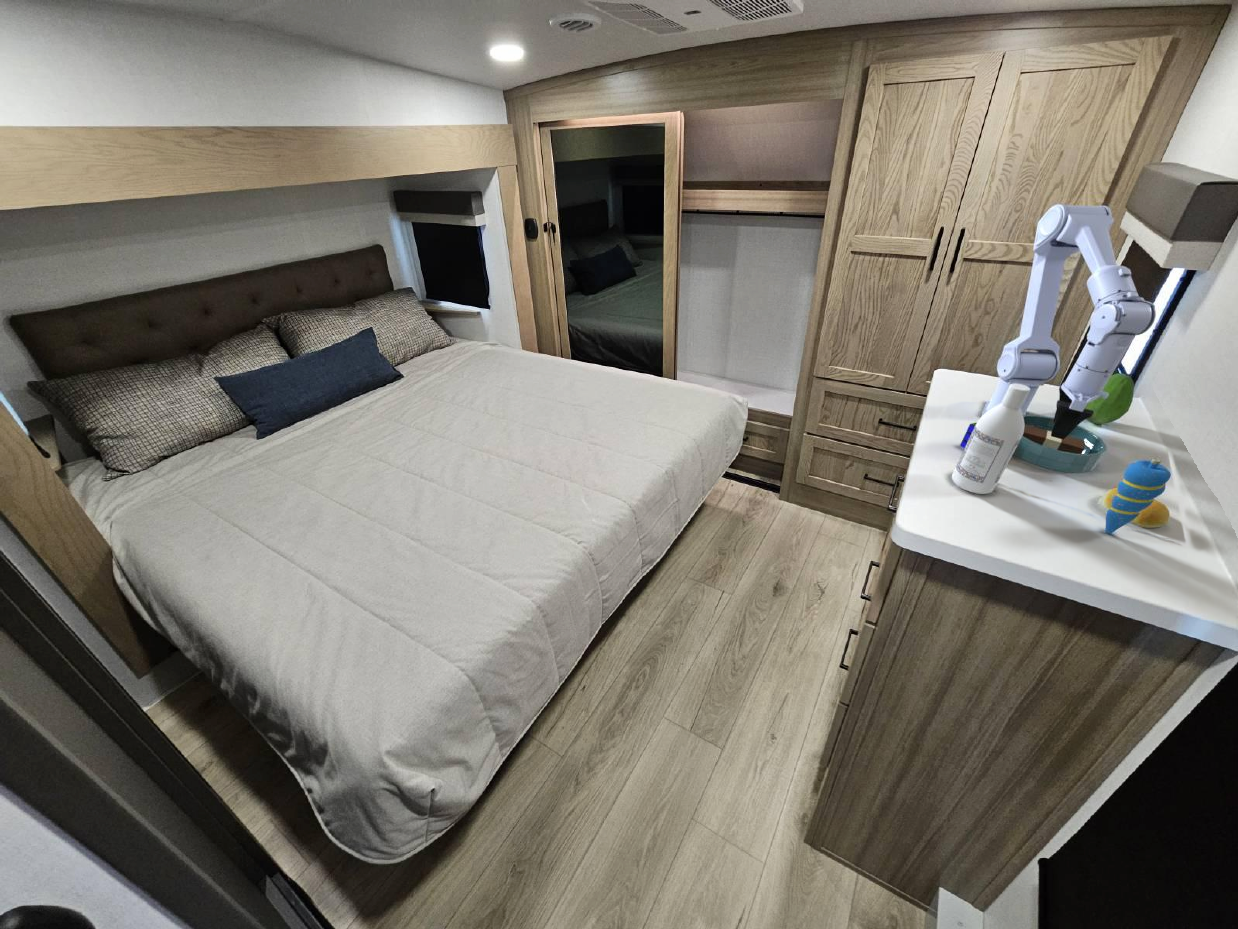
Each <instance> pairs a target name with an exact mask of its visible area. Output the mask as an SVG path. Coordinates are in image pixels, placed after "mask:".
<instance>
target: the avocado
mask: <svg viewBox="0 0 1238 929" xmlns="http://www.w3.org/2000/svg"><path fill="white" fill-rule="evenodd" d="M1102 391H1104V392H1108V393H1109V396H1108V397H1107V398H1106V399H1104V398H1097V399H1095V400H1093V401H1091V402H1089V403H1088V404H1087V405H1086V407H1085V409H1089V410H1093V411H1094V413H1093V415H1092V416H1091V417H1089V418H1087V419H1086V420H1085V421H1088V422H1089V423H1092V424H1097V425H1105V424H1111V423H1113V422H1115V421H1117V420H1119V419H1121V418H1122V417H1124V415H1126V414H1127V413H1128V412H1129V410H1130V409H1131V408H1130V407H1131V406H1132V403H1133V399H1134V392H1135V382H1134V380H1133V379H1132V377H1130V376H1129V375H1128V374H1126V373H1121V372H1119V373H1113V374H1112V375H1111V377H1110V379H1109V380H1108V382H1107V384H1106V385H1105V387H1104V389H1103V390H1102Z"/></svg>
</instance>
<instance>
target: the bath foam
mask: <svg viewBox="0 0 1238 929" xmlns="http://www.w3.org/2000/svg"><path fill="white" fill-rule="evenodd" d="M1029 392H1030V388H1029V387H1027V386H1025V385H1022V384H1016V383H1014V384H1011V385H1010V386H1009V388H1008V390H1007V392H1006V394H1005V396H1004V398H1003V400H1002V403H1001V404H999V405H997V406H995V407H994V408H992V409H990V410H989V411H987V412H986V413H985V414H984V415H981V417H980V418H979V419H978V420H977V421H976V423H977V424H976V425H975V427H974V429H973V432H972V434H971V436H970V438H969V440H968V442H967V444H966V447H965V448H963V450H962V453H961V455H960V456H959V460H958V461H957V464H956V466H955V468H954V470H953V472H952V475H951V479H952V481H953V482H954V484H955V485H956V486H958V487H959V488H961V489H963V490H964V491H967V492H970V493H972V494H979V495H985V494H990V493H992V492H993V491H994V490H995V488H996V487H997V484H998V483H999V481H1000V479H1001V477H1002V475H1003V474H1004V472H1005V470H1006V468H1007V466H1008V464H1009V462H1010V460H1011V459H1012V458H1013V456H1014V454H1013V453H1014V451H1015V449H1016V448H1017V446H1018V444H1019V442H1020V440H1021V438H1022V436H1023V433H1024V426H1025V425H1024V418H1023V414H1022V411H1021V407H1022V406H1023V404H1024V402H1025V400H1026V398H1027V396H1028V394H1029Z"/></svg>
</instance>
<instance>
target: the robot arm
mask: <svg viewBox="0 0 1238 929" xmlns="http://www.w3.org/2000/svg"><path fill="white" fill-rule="evenodd" d="M1114 222H1115V218H1114V217H1113V214H1112V210H1111V208H1110V207H1109V206H1108V205H1099V206H1098V205H1097V206H1096V205H1095V206H1092V205H1066V204H1061V203H1058V204H1055V205H1052V206H1051V207H1050V208H1048V210H1047V211H1046V212H1045V213H1044V214H1043V216H1042V217H1041V218H1040V219H1039V220H1038V222H1037V226H1036V233H1035V238H1034V243H1033V249H1032V250H1033V252H1034V255H1033V260H1032V266H1031V272H1030V277H1029V283H1028V288H1027V293H1026V299H1025V305H1024V308H1023V309H1024V310H1023V315H1022V320H1021V326H1020V331H1019V336H1018V337H1017V338H1015V339H1013V340H1011V341H1009V342H1007V343H1006V344H1005V345H1003V349H1002V353H1001V356H1000V358H999V359H998V361H997V364H996V371H997V372H996V373H997V374H998V377H999V378H1000V379H999V381H998V383H997V385H996V387H995V389H994V392H993V393H992V396H991V398H990V400H987V401H986V403H985V406H984V408H983V410H982V413H981V416H983V415H984V414H985V413H986V412H987V411H989V410H990V409H992V408H994V407H995V406H997V405H999V404H1001V403H1002V400H1003V398H1004V396H1005V394H1006V392H1007V390H1008V388H1009V386H1010V385H1011V384H1014V383H1016V384H1022V385H1025V386H1027V387H1029V388H1030V392H1029V394H1028V396H1027V398H1026V400H1025V402H1024V404H1023V406H1022V407H1021V411H1022V414H1023V415H1027V410H1028V409H1029V406H1030V405H1031V403H1032V401H1033V399H1034V398H1035V396H1036V393H1037V392H1038V390H1039V388H1040V387H1041V386H1045V383H1046V382H1049V381H1051V380H1053V379H1054V378H1055V377H1056V376H1057V374H1058V373H1059V371H1060V368H1061V360H1060V349H1061V347H1060V345H1059V344H1058V343H1057V342H1056V341H1055V340H1054V339H1053V337H1051V335H1052V331H1053V330H1052V329H1053V325H1054V321H1055V315H1056V309H1057V304H1058V300H1059V295H1060V289H1061V285H1062V281H1063V280H1062V279H1063V274H1064V269H1065V263H1066V260H1067V259H1068V258H1069V257H1070V256H1071V255H1074V254H1077V253H1079V252H1080V253H1081V255H1082V257H1083V260H1084V261H1085V263H1086V265H1087V267H1088V269H1089V271H1090V273H1091V275H1090V276H1089V277H1088V279H1087V281H1086V287H1087V290H1088V293H1089V295H1090V299H1091V301H1092V304H1093V307H1094V311H1093V312H1092V314H1091V316H1090V323H1089V324H1090V326H1089V330H1088V333H1087V334H1086V340H1087V341H1086V343H1085V345H1084V347H1083V348H1082V350H1081V352H1080V353H1079V356H1078V358H1077V360H1076V362H1075V363H1074V365H1073V367H1072V368H1071V370H1070V372H1069V374H1068V375H1067V377H1066V379H1065V381H1064V382H1062V385H1060V386H1059V387H1058V392H1059V394H1058V395H1059V397H1058V400H1057V401H1056V410H1055V413H1054V416H1053V418H1054V421H1053V422H1055V423H1054V425H1053V428H1052V432H1051V436H1052V437H1056V438H1059V439H1065V438H1066V437H1067V436H1068V435H1069V434H1070V433H1071V432H1072V431H1073V429H1074V428H1075V427H1076V426H1080V424H1081V423H1083V422H1084V421H1087V420H1086V419H1087V418H1089V417H1091V416H1092V415H1093V413H1094V411H1093V410H1089V409H1085V407H1086V405H1087V404H1088V403H1089V402H1091V401H1093V400H1095V399H1097V398H1104V399H1106V398H1107V397H1108V396H1109V393H1108V392H1104V391H1102V390H1103V389H1104V387H1105V385H1106V384H1107V382H1108V380H1109V379H1110V377H1111V376H1112V375H1114V372H1115V370H1116V369H1117V367H1118V365H1119V364H1120V363H1121V361H1122V359H1123V357H1124V355H1125V354H1126V352H1127V350H1128V349H1129V347H1130V345H1131V344H1132V342H1133V340H1134V339H1135V337H1136V336H1140V335H1143V334H1145V333H1146V332H1147V331H1149V329H1151V327H1152V326H1153V325H1154V324H1155V323H1154V322H1155V320H1156V316H1157V314H1156V313H1157V312H1156V306H1155V304H1154V303H1153V302H1151V301H1148V300H1145V299H1144V297H1142V296H1139V293H1138V290H1137V288H1136V285H1135V283H1134V280H1133V278H1132V271H1131V269H1130V268H1129V267H1127V266H1124V265H1118V264H1117V260H1116V256H1115V251H1114V248H1113V244H1112V239H1111V235H1110V231H1111V228H1112V226H1113V225H1114Z"/></svg>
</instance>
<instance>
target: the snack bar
mask: <svg viewBox="0 0 1238 929" xmlns="http://www.w3.org/2000/svg"><path fill="white" fill-rule="evenodd" d="M1023 436H1024V437H1025V438H1027V439H1029V440H1031V441H1033V442H1035V443H1038V444H1040V445H1043V446H1045V447H1048V448H1052V449H1055V450H1059V451H1063V452H1069V453H1074V454H1082V452H1083V451H1084V449H1085V441H1084V440H1081V439H1077V438H1073V437H1070V436H1067V437H1066V438H1065V439H1059V438H1056V437H1052V436H1051V431H1048V430H1044V429H1040V428H1037V427H1033V426H1029V425H1026V426H1025V428H1024V433H1023Z"/></svg>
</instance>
